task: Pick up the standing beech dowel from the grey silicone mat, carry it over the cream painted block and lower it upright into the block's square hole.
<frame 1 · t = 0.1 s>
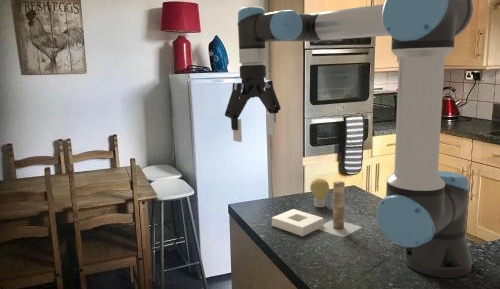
hand: (254, 137, 124), 28 cm above the kitchen island, fingers open, 13 cm apart
mat: (338, 228, 126), on the kitchen island
light bulb: (319, 207, 146), on the kitchen island
dowel: (338, 227, 126), resting on mat
hole block: (297, 227, 129), on the kitchen island
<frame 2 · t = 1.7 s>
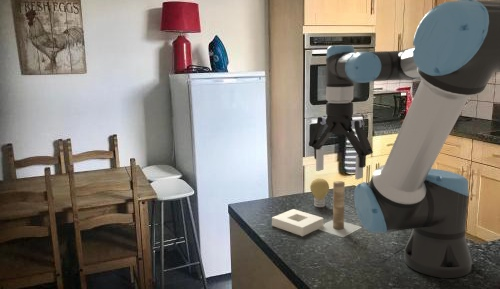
hand: (338, 174, 123), 17 cm above the kitchen island, fingers open, 13 cm apart
nothing on the kitchen island moved.
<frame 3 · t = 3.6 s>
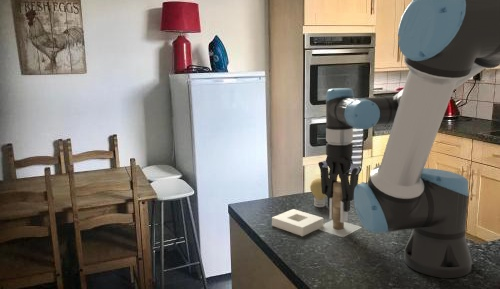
hand: (338, 219, 126), 3 cm above the kitchen island, fingers closed on dowel, 3 cm apart
dowel: (338, 227, 126), resting on mat, touching gripper
everything else where it was.
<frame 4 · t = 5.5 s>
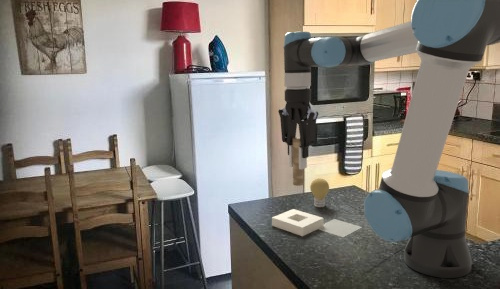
hand: (297, 167, 125), 19 cm above the kitchen island, fingers closed on dowel, 3 cm apart
dowel: (298, 184, 126), point 14 cm above the kitchen island, touching gripper
everything else where it was.
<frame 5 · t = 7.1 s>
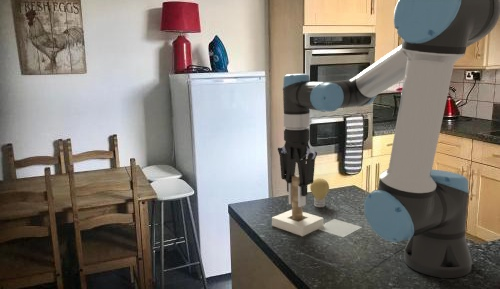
hand: (297, 204, 127), 7 cm above the kitchen island, fingers closed on dowel, 3 cm apart
dowel: (297, 221, 128), point 2 cm above the kitchen island, touching gripper
everything else where it was.
when the fingers open (5 cm above the kitchen island, at t = 7.8 s): dowel stays where it is, resting in hole block.
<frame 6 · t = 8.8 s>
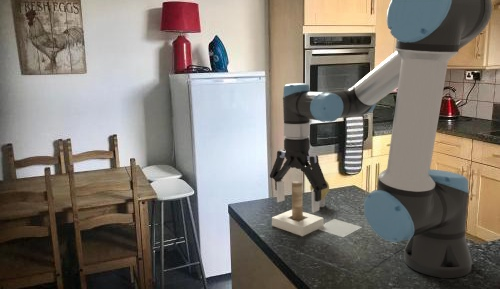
hand: (297, 206, 127), 7 cm above the kitchen island, fingers open, 13 cm apart
dowel: (297, 226, 129), resting in hole block
everything else where it was.
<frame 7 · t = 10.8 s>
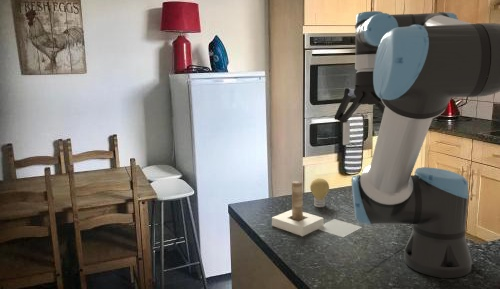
hand: (367, 146, 120), 25 cm above the kitchen island, fingers open, 13 cm apart
nothing on the kitchen island moved.
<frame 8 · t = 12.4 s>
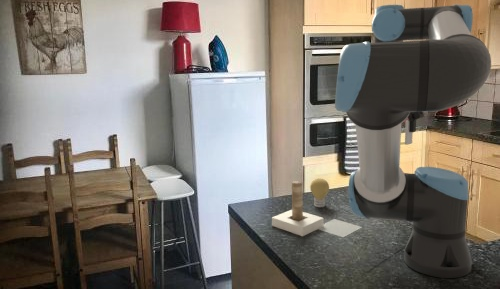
hand: (385, 141, 119), 27 cm above the kitchen island, fingers open, 13 cm apart
nothing on the kitchen island moved.
at the end: dowel 0.1 cm off-centre on the hole block, point 0.0 cm above the hole block's base; dowel tilted 0°; the gripper is holding nothing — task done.
